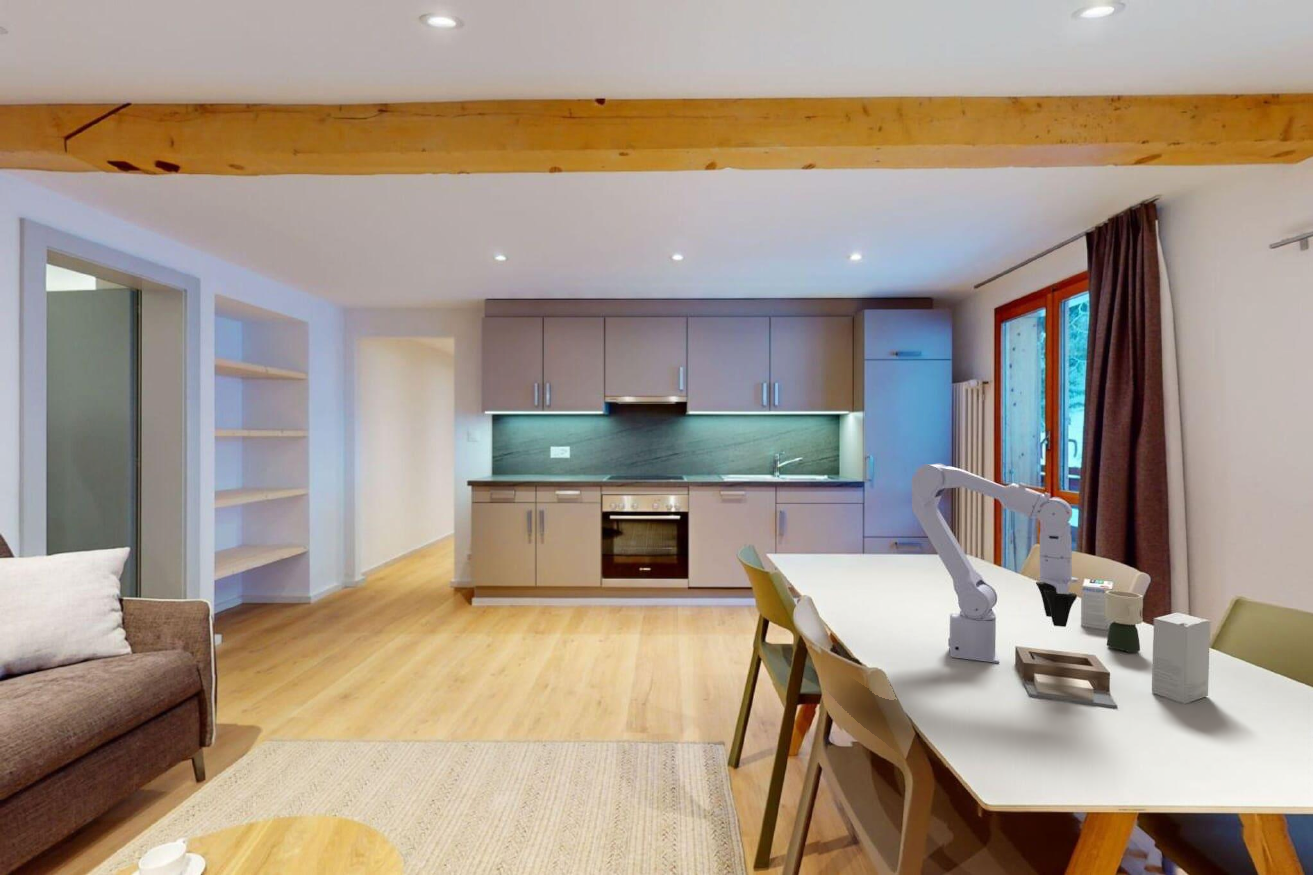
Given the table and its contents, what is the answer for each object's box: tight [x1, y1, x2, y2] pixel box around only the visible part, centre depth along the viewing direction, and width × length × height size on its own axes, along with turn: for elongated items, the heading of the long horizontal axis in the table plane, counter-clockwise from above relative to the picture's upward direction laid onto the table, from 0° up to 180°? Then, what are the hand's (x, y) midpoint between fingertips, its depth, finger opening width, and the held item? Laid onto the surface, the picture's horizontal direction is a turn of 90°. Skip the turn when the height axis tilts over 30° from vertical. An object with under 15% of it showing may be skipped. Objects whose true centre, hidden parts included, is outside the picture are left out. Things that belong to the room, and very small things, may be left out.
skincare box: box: [1151, 612, 1211, 705], centre depth 125 cm, size 8×6×15 cm
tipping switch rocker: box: [1031, 654, 1055, 662], centre depth 134 cm, size 9×5×1 cm, turn 69°
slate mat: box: [1022, 680, 1118, 709], centre depth 125 cm, size 14×7×1 cm, turn 69°
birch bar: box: [1034, 674, 1094, 700], centre depth 125 cm, size 9×4×2 cm, turn 67°
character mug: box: [1105, 590, 1144, 653], centre depth 152 cm, size 11×7×13 cm, turn 163°
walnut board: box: [1014, 645, 1111, 693], centre depth 134 cm, size 15×11×4 cm
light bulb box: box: [1080, 578, 1114, 631], centre depth 174 cm, size 11×7×11 cm, turn 144°
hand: (1055, 621), depth 138 cm, fingers open, 7 cm apart
